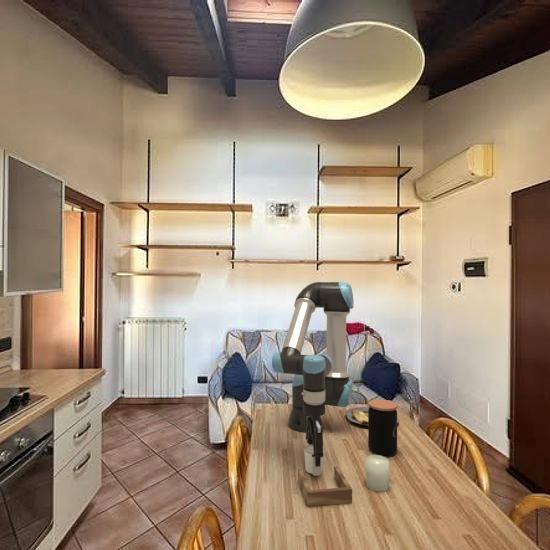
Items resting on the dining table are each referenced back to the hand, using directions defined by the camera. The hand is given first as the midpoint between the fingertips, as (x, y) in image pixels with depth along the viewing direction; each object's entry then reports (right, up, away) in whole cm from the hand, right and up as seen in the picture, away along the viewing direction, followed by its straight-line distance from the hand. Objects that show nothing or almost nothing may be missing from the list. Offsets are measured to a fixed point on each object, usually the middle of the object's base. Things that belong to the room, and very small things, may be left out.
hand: (314, 468), depth 124 cm
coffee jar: (+28, -1, +15) cm, 32 cm away
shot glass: (0, -1, 0) cm, 1 cm away
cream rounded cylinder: (+19, -1, -9) cm, 21 cm away
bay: (+2, -1, -12) cm, 12 cm away
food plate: (+32, -2, +46) cm, 56 cm away
